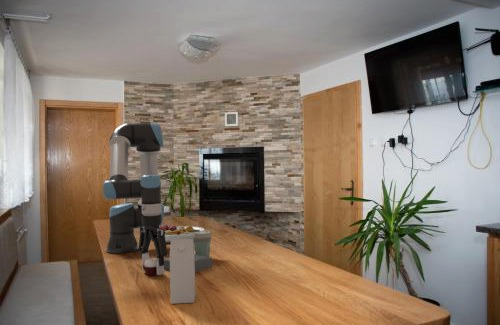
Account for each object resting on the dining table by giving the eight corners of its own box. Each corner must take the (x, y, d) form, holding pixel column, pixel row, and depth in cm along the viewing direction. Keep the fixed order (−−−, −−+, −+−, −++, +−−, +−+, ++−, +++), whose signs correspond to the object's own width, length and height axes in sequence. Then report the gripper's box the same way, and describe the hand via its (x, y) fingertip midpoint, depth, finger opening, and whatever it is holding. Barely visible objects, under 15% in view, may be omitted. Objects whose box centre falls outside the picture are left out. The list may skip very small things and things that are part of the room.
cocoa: (140, 275, 152) (138, 244, 152) (154, 271, 156) (152, 241, 156) (153, 278, 145) (150, 246, 145) (167, 274, 150) (164, 243, 150)
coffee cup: (208, 261, 169) (208, 234, 169) (190, 261, 170) (189, 233, 170) (214, 256, 177) (213, 230, 177) (196, 256, 179) (196, 230, 179)
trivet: (163, 269, 158) (163, 258, 158) (190, 262, 168) (190, 252, 168) (184, 275, 149) (184, 264, 149) (211, 267, 159) (211, 257, 159)
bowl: (215, 236, 228) (214, 223, 228) (180, 246, 202) (179, 231, 202) (177, 232, 244) (177, 220, 244) (140, 241, 218) (140, 227, 218)
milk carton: (173, 296, 125) (171, 237, 125) (195, 295, 126) (194, 237, 126) (170, 304, 118) (169, 242, 118) (194, 303, 119) (192, 241, 119)
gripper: (128, 213, 156) (129, 269, 155) (159, 217, 141) (161, 279, 141) (144, 211, 161) (145, 265, 161) (176, 215, 146) (177, 274, 146)
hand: (153, 271), depth 151 cm, fingers closed on cocoa, 9 cm apart
